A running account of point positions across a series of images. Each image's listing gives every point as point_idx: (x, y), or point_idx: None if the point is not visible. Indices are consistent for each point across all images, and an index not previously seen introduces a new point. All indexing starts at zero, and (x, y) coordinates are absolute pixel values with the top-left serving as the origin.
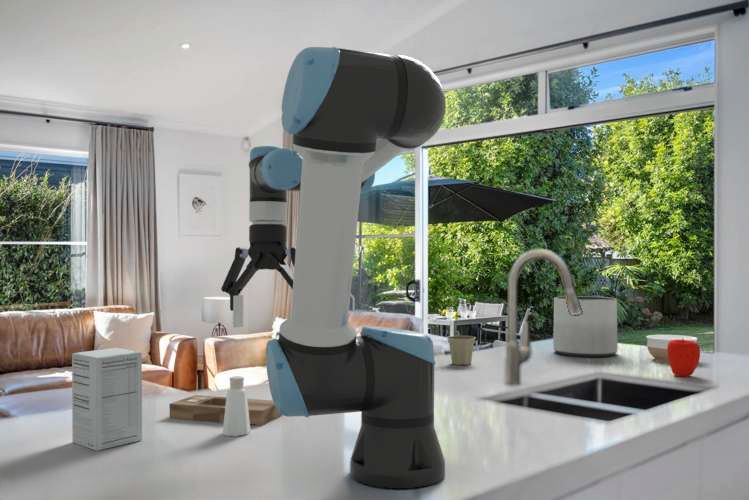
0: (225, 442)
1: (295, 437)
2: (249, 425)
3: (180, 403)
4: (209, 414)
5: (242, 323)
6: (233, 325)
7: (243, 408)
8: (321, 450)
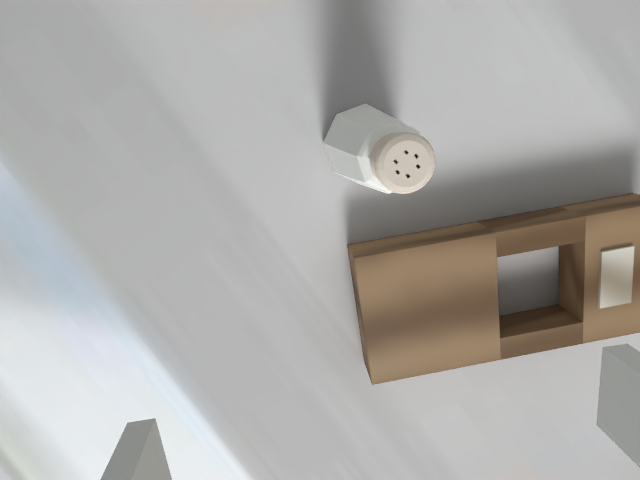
0: (328, 44)
1: (186, 184)
2: (335, 168)
3: (637, 221)
4: (518, 220)
5: (612, 430)
6: (636, 352)
7: (344, 143)
8: (31, 101)
